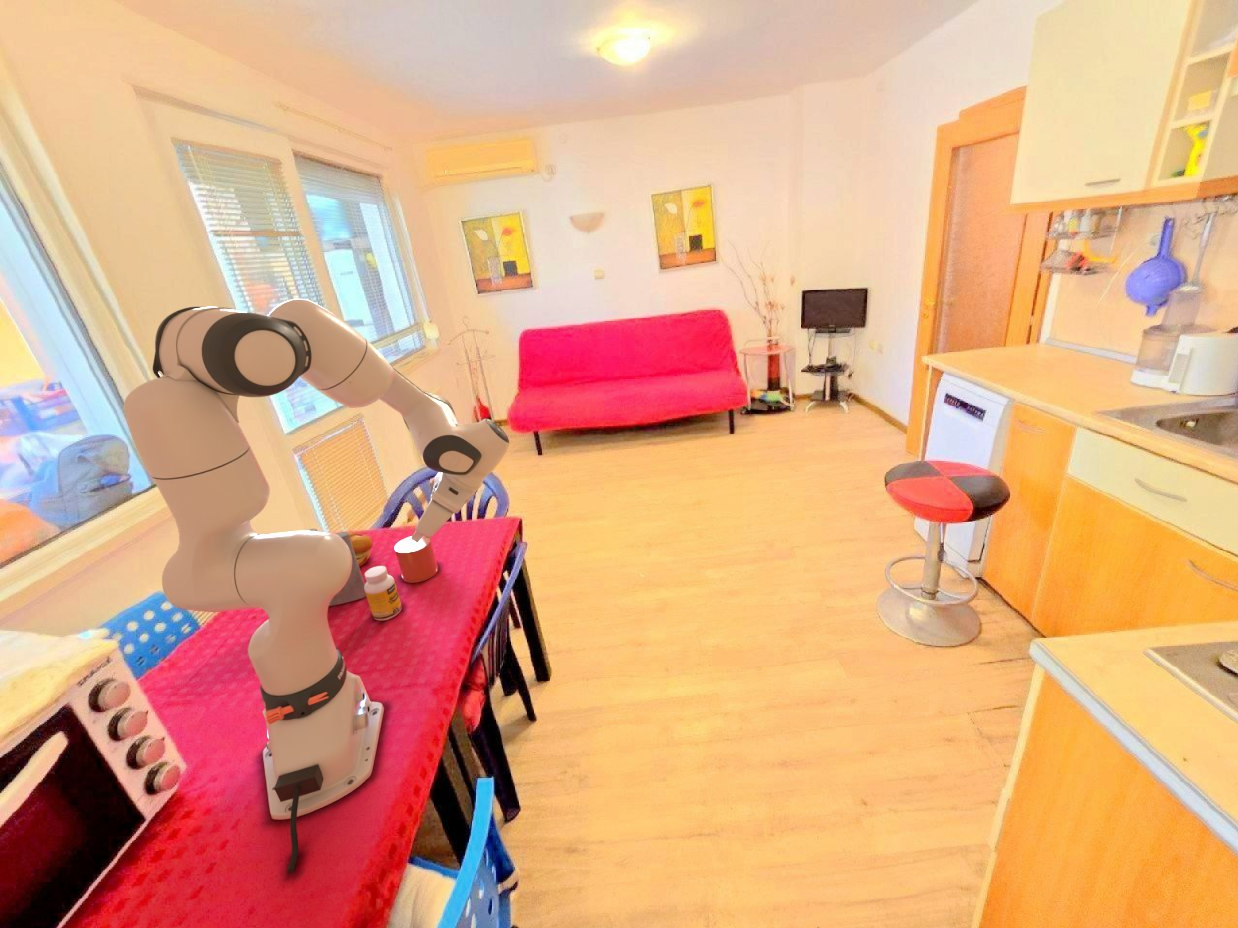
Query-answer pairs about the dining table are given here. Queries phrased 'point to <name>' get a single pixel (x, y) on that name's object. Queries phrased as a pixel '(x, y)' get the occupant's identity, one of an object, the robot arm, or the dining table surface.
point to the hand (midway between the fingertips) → (420, 528)
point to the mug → (416, 559)
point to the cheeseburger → (361, 547)
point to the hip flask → (355, 581)
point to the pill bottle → (381, 593)
